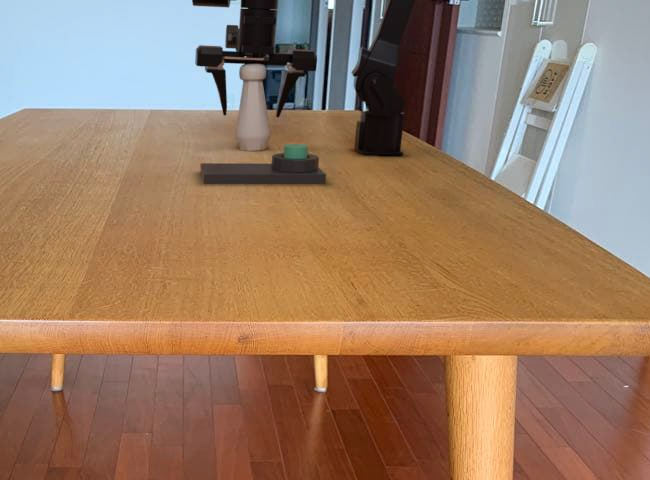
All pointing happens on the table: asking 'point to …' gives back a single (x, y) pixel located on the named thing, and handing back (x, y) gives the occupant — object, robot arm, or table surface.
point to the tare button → (295, 151)
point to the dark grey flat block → (265, 172)
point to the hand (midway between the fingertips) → (251, 116)
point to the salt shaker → (252, 109)
